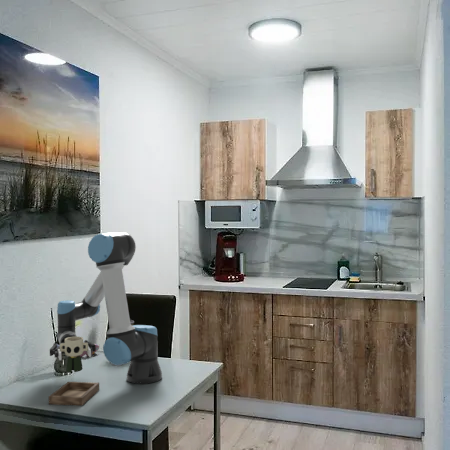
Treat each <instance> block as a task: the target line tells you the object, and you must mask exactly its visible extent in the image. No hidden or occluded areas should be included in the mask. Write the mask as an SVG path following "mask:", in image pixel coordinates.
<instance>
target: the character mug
mask: <svg viewBox="0 0 450 450" xmlns="http://www.w3.org/2000/svg"><path fill="white" fill-rule="evenodd" d="M83 342H84V338H83V337H82V336H77V337H68V338H66V339H65V343H61V344H60V343H59V345H60V351H61V352H62V353H64V354H65V356H66V357H67V360H66V367H65V368H66V370H65V371H66V372H67V373H72V372H73V373H77V372H80V371H82V370H83V361H82V357H80V355H81V354H83V351H88V343H83ZM83 345H86V348H85V349H83ZM62 346H65V349H62Z"/></svg>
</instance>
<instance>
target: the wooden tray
mask: <svg viewBox="0 0 450 450" xmlns="http://www.w3.org/2000/svg"><path fill="white" fill-rule="evenodd" d="M99 391H100V382H93V381H92V382H91V381H90V382H89V381H87V382H86V381H67V382H65V383H64V384H63V385H62V386H60V387H59V388H58V389H57V390H55V391H54V392H53V393H51V394H50V395H49V396H48V405H54V406H56V405H59V406H80V407H81V406H82V407H83V406H84V405H85V404H86V403H87V402H89V400H91V399H92V397H93V396H95V395H96V394H97V393H98V392H99Z"/></svg>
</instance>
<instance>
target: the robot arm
mask: <svg viewBox="0 0 450 450" xmlns="http://www.w3.org/2000/svg"><path fill="white" fill-rule="evenodd" d="M136 248H137V246H136V241H135V239H134V237H133V236H132V235H131V234H129V233H127V232H124V231H118V232H103V233H98V234H95V235H93V237H92V238H91V239H90V240H89V243H88V246H87V253H88V256H89V258H90V259H91V261H92V262H94V263H95V266H96V268H97V269H98V270H100V272H99V274H98V275H97V276H96V279H95V280H94V281H93V283H92V285H91V286H90V288H89V290H88V291H87V293H86V294H85V296H84V297H83V299H82V300H81V301H80V302H75V301H74V300H71V299H70V300H69V299H67V300H61V301H58V302H57V307H56V308H57V310H56V314H57V332H56V339H57V341H58V343H59V344H58V343H56V342H55V343H53V344H52V347H50V348H49V356H50V357H52V356H54V358H58V360H59V361H62V353H63V352H61V351H60V344H61V343H65V339H66V338H68V337H78V336H77V334H76V321H79V320H83V319H87V318H92V317H94V316H96V315H98V314H99V312H100V310H101V309H100V308H101V305H100V304H101V302H102V301H103V299H104V300H105V306H106V312H107V319H108V325H109V326H108V327H109V329H108V330H107V332H106V337H107V339H106V340H105V341H104V343H103V346H102V351H103V354H104V357H105V359H106V360H107V361H108V362H109V363H111V364H112V365H114V366H121V365H125V364H128V363H129V367H128V369H127V373H126V381H127V382H129V383H132V384H140V385H141V384H142V385H143V384H146V385H147V384H152V383H156V382H159V381H160V380H162V378H163V372H162V369H161V365H160V364H159V358H158V356H159V355H158V354H159V353H158V350H159V349H158V343H159V341H158V336H159V335H158V329H157V327H156V326H153V325H146V324H134V325H133V326H132V325H131V324H130V320H131V318H130V312H129V305H128V299H127V294H126V292H127V291H126V288H125V287H126V286H125V280H124V273H123V269H124V268H125V266H128V265H129V264H130V262H131V261H132V260H133V258H134V255H135V252H136ZM83 343H88V351H86V352H87V354H88V356H87V357H89V358H91V357H92V354H91V353H93V351H96V345H95V344H96V343H92V342H90V341H89V340H87V339H85V340H83ZM85 348H86V345H83V349H85ZM62 349H65V346H62ZM96 352H97V351H96Z"/></svg>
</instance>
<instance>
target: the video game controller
mask: <svg viewBox="0 0 450 450" xmlns="http://www.w3.org/2000/svg"><path fill="white" fill-rule="evenodd" d="M94 344H95V345H96V351H93V353H91V356H93V355H94V354H96V352H97V351H99V350H100V345H98V344H97V343H94ZM84 356H86V357H89V356H88V354H87V352H86V351H83V354H81V355H80V357H81V358H83V357H84Z"/></svg>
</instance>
